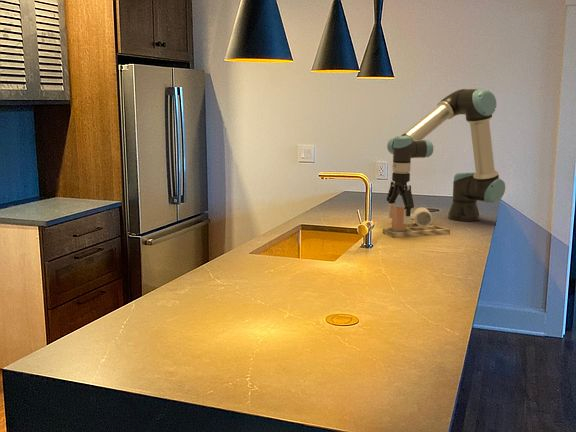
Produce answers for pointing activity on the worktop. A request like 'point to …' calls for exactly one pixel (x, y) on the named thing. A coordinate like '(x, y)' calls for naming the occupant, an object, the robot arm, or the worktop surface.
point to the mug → (422, 217)
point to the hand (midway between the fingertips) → (399, 220)
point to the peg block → (398, 219)
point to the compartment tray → (417, 231)
